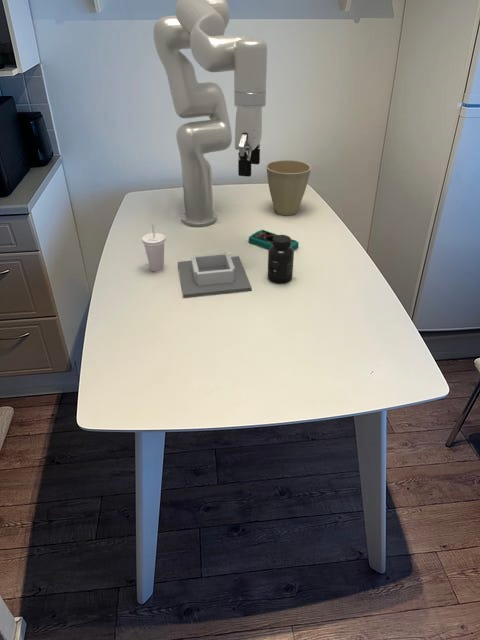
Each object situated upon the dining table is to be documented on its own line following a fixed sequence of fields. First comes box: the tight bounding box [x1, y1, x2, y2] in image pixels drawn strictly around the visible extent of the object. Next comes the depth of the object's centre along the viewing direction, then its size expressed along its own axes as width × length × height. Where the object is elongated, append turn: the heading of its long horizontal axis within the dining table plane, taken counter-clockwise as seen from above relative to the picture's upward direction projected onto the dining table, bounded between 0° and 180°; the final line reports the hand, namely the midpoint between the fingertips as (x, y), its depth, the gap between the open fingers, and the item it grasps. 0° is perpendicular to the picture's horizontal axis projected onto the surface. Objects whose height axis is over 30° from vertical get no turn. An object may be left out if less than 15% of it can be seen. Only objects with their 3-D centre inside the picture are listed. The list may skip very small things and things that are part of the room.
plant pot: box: [266, 159, 312, 216], centre depth 168 cm, size 15×15×16 cm
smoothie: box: [141, 223, 166, 273], centre depth 135 cm, size 6×6×14 cm
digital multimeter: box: [248, 229, 299, 252], centre depth 151 cm, size 7×15×3 cm, turn 51°
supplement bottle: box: [267, 234, 295, 285], centre depth 131 cm, size 7×7×12 cm
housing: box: [177, 252, 253, 299], centre depth 134 cm, size 18×18×4 cm
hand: (249, 169), depth 127 cm, fingers open, 9 cm apart
